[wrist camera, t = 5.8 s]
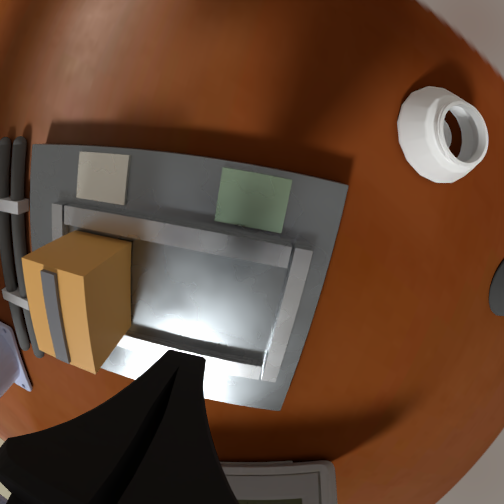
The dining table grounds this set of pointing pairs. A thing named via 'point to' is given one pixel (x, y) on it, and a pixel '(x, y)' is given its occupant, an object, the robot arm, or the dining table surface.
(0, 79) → the dining table surface
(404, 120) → the white hollow cone ring
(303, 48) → the dining table surface
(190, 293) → the grey metal tray
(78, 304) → the cardboard box
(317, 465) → the digital clock
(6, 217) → the cable bundle
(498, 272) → the sundae
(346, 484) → the dining table surface
